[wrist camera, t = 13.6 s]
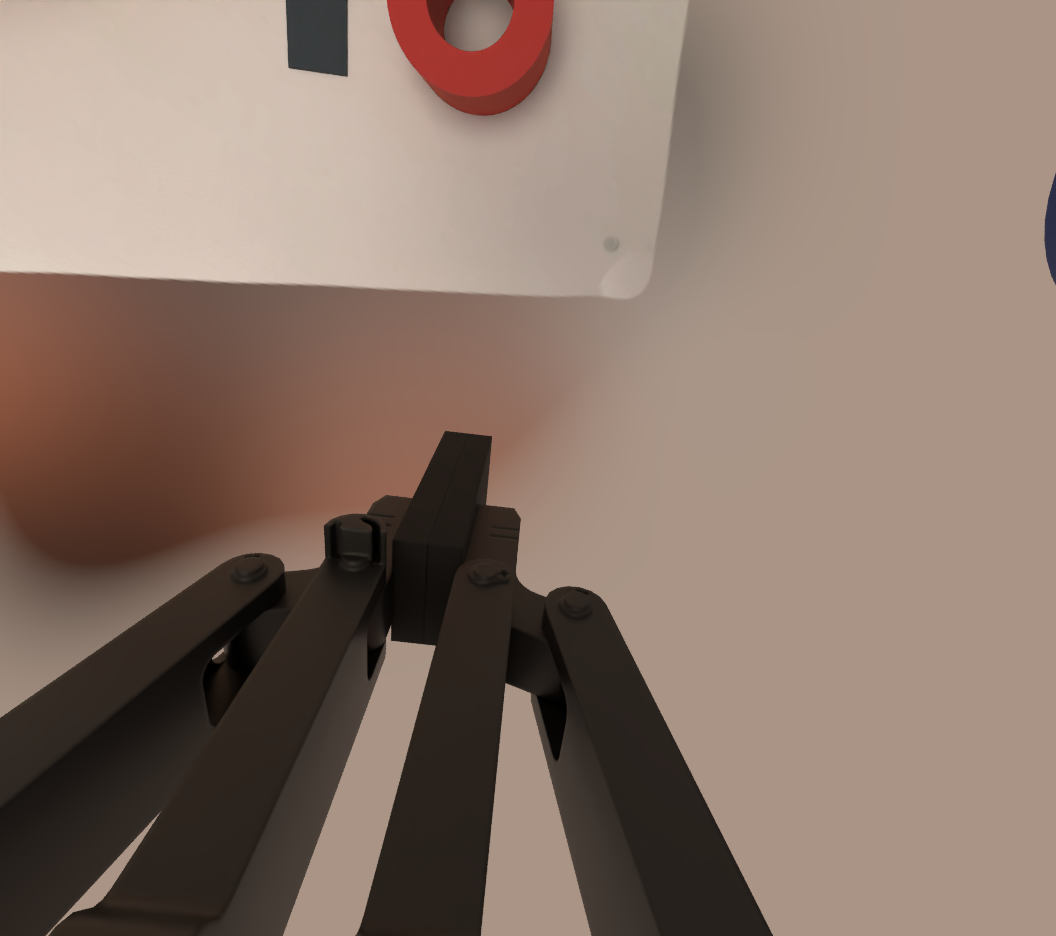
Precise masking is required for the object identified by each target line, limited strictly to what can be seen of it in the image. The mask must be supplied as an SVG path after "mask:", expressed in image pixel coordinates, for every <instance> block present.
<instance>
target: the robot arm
mask: <svg viewBox="0 0 1056 936" xmlns="http://www.w3.org/2000/svg"><path fill="white" fill-rule="evenodd" d="M491 442H492V436H484V435H475V434H466V433H457V432H449V431H445V432H444V435H443V437H442V439H441V441H440V443H439V445H438V447H437V449H436V451H435V453H434V455H433V457H432V459H431V461H430V463H429V465H428V468H427V470H426V472H425V474H424V476H423V478H422V480H421V482H420V484H419V486H418V488H417V490H416V492H415V494H414V496H413V498H407V497H398V496H389V495H386V496H384V497H382V498H381V499H379V500H378V501H376V502H374V503H373V504H372V506H371V508H370V509H369V511H368V513H367V514H348V515H343V516H339V517H336V518H334V519H332V520H330V521H329V522H328V523H326V524H325V525H324V535H325V557H326V558H325V560H324V561H323V563H322V564H321V566H320V567H319V568H315V569H309V570H300V571H287V572H285V570H284V564H283V562H282V561H281V560H280V558H277V557H275V556H273V555H270V554H263V553H254V554H252V553H251V554H245V555H241V556H238V557H234V558H232V559H230V560H228V561H226V562H224V563H222V564H221V565H219V566H218V567H216V568H215V569H214V570H213V571H211V572H209V573H208V574H206V575H205V576H204V577H202V578H201V579H199V580H198V581H196V582H195V583H194V584H192V585H191V586H189V587H188V588H187V589H185V590H183V591H182V592H181V593H179V594H178V595H176V596H175V597H173V598H172V599H170V600H169V601H168V602H166V603H165V604H163V605H162V606H160V607H159V608H158V609H156V610H155V611H153V612H152V613H150V614H149V615H147V616H146V617H145V618H143V619H142V620H140V621H139V622H137V623H136V624H135V625H133V626H132V627H130V628H129V629H127V630H126V631H124V632H123V633H122V634H120V635H119V636H117V637H116V638H114V639H113V640H112V641H110V642H109V643H107V644H106V645H104V646H103V647H101V648H100V649H99V650H97V651H96V652H95V653H93V654H92V655H90V656H89V657H87V658H86V659H84V660H83V661H81V662H80V663H78V664H77V665H76V666H75V667H73V668H71V669H70V670H68V671H67V672H66V673H64V674H63V675H61V676H60V677H58V678H57V679H56V680H54V681H53V682H51V683H50V684H48V685H47V686H46V687H44V688H43V689H41V690H40V691H38V692H37V693H35V694H34V695H33V696H31V697H30V698H28V699H27V700H25V701H24V702H22V703H21V704H20V705H18V706H17V707H15V708H14V709H12V710H11V711H10V712H8V713H7V714H5V715H4V716H2V717H1V718H0V936H46V935H47V934H48V932H49V931H50V930H51V929H52V928H53V927H54V926H55V925H56V924H57V923H58V922H59V920H60V919H61V918H62V917H63V916H64V915H65V914H66V913H67V912H68V911H69V910H70V909H71V908H72V906H73V905H74V904H75V903H76V902H77V901H78V900H79V899H80V898H81V897H82V896H83V895H84V894H85V892H86V891H87V890H88V889H89V888H90V887H91V886H92V885H93V884H94V883H95V882H96V881H97V880H98V878H99V877H100V876H101V875H102V874H103V873H104V872H105V871H106V870H107V868H109V867H110V866H111V864H112V863H113V862H114V861H115V860H116V859H117V858H118V857H119V856H120V855H121V854H122V853H123V851H124V850H125V849H126V848H127V847H128V846H129V845H130V844H131V843H132V842H133V841H134V839H136V837H137V836H138V835H139V834H140V833H141V832H142V831H143V830H144V829H145V828H146V827H147V826H148V825H149V823H150V822H151V821H152V820H153V819H154V818H155V817H156V816H157V815H158V814H159V813H160V814H159V816H158V817H157V819H156V820H155V822H154V824H153V825H152V826H151V828H150V829H149V831H148V833H147V834H146V836H145V837H144V839H143V840H142V842H141V843H140V845H139V846H138V848H137V850H136V851H135V853H134V854H133V856H132V857H131V859H130V860H129V862H128V863H127V865H126V866H125V868H124V870H123V871H122V873H121V874H120V876H119V877H118V879H117V880H116V882H115V883H114V885H113V887H112V888H111V889H110V891H109V892H108V893H107V895H106V896H105V897H104V899H103V900H102V901H100V902H99V903H98V904H97V905H96V906H94V907H93V908H89V909H85V910H81V911H77V912H73V913H72V914H71V915H69V916H68V917H67V918H66V919H65V920H63V921H62V922H61V923H60V924H58V925H57V926H56V927H55V928H54V930H53V931H52V932H51V933H50V935H49V936H283V934H284V931H285V928H286V925H287V923H288V920H289V917H290V915H291V912H292V909H293V906H294V904H295V901H296V898H297V896H298V893H299V890H300V887H301V884H302V882H303V879H304V877H305V874H306V871H307V868H308V866H309V863H310V860H311V857H312V855H313V852H314V849H315V847H316V844H317V841H318V838H319V836H320V833H321V830H322V827H323V824H324V822H325V819H326V817H327V814H328V811H329V809H330V806H331V803H332V800H333V798H334V795H335V792H336V790H337V787H338V784H339V781H340V779H341V776H342V773H343V770H344V768H345V765H346V762H347V759H348V757H349V754H350V751H351V749H352V746H353V743H354V741H355V738H356V735H357V732H358V730H359V727H360V724H361V721H362V719H363V716H364V713H365V711H366V708H367V705H368V703H369V700H370V697H371V694H372V692H373V689H374V686H375V684H376V680H377V678H378V675H379V673H380V670H381V667H382V664H383V662H384V659H385V654H386V637H387V634H388V631H389V629H390V626H391V641H400V642H408V643H417V644H426V645H435V646H436V648H435V651H434V655H433V659H432V662H431V667H430V670H429V674H428V678H427V681H426V685H425V689H424V692H423V696H422V700H421V704H420V707H419V711H418V715H417V719H416V722H415V726H414V730H413V733H412V737H411V741H410V745H409V748H408V752H407V756H406V760H405V763H404V767H403V771H402V775H401V778H400V782H399V786H398V789H397V794H396V797H395V801H394V804H393V808H392V812H391V816H390V820H389V823H388V827H387V830H386V834H385V838H384V842H383V845H382V849H381V853H380V857H379V860H378V864H377V868H376V871H375V875H374V879H373V883H372V886H371V890H370V894H369V898H368V901H367V905H366V909H365V913H364V916H363V919H362V923H361V926H360V928H359V931H358V933H357V934H356V935H355V936H481V926H482V916H483V906H484V896H485V886H486V875H487V865H488V854H489V844H490V835H491V824H492V813H493V803H494V793H495V783H496V772H497V762H498V753H499V743H500V732H501V722H502V711H503V702H504V692H505V683H507V684H509V685H512V686H515V687H517V688H520V689H522V690H525V691H527V692H530V693H531V702H532V706H533V710H534V714H535V718H536V722H537V726H538V729H539V734H540V737H541V741H542V745H543V749H544V753H545V757H546V760H547V765H548V769H549V772H550V776H551V780H552V784H553V788H554V791H555V795H556V799H557V804H558V807H559V811H560V815H561V819H562V823H563V827H564V831H565V834H566V838H567V842H568V846H569V850H570V854H571V858H572V861H573V865H574V870H575V873H576V877H577V881H578V885H579V889H580V893H581V897H582V900H583V904H584V908H585V912H586V916H587V920H588V924H589V928H590V932H591V935H592V936H773V935H772V933H771V931H770V929H769V927H768V925H767V923H766V921H765V919H764V917H763V915H762V913H761V911H760V909H759V907H758V905H757V903H756V901H755V899H754V897H753V895H752V893H751V891H750V889H749V887H748V885H747V883H746V881H745V879H744V877H743V875H742V873H741V871H740V869H739V867H738V865H737V863H736V861H735V859H734V857H733V855H732V854H731V851H730V849H729V847H728V845H727V844H726V841H725V840H724V837H723V835H722V833H721V832H720V830H719V828H718V826H717V824H716V822H715V820H714V818H713V816H712V814H711V812H710V810H709V808H708V806H707V804H706V802H705V800H704V798H703V796H702V794H701V792H700V790H699V788H698V786H697V784H696V782H695V780H694V778H693V776H692V774H691V772H690V770H689V768H688V766H687V764H686V762H685V760H684V758H683V756H682V754H681V752H680V750H679V748H678V746H677V744H676V742H675V740H674V738H673V736H672V734H671V732H670V730H669V728H668V726H667V724H666V722H665V720H664V718H663V716H662V714H661V713H660V710H659V709H658V707H657V705H656V703H655V701H654V699H653V697H652V695H651V693H650V691H649V689H648V687H647V685H646V683H645V681H644V679H643V677H642V675H641V673H640V671H639V669H638V667H637V665H636V663H635V661H634V659H633V657H632V655H631V653H630V651H629V649H628V647H627V645H626V643H625V641H624V639H623V637H622V635H621V633H620V631H619V629H618V627H617V625H616V623H615V621H614V619H613V617H612V615H611V613H610V611H609V609H608V607H607V605H606V604H605V602H604V601H603V600H602V599H601V598H600V597H599V596H598V595H596V594H595V593H593V592H592V591H589V590H586V589H583V588H580V587H570V586H567V587H561V588H557V589H555V590H553V591H551V592H549V594H548V596H547V597H544V596H542V595H539V594H536V593H534V592H532V591H530V590H528V589H527V588H526V587H524V586H523V585H522V584H521V583H520V582H519V580H518V578H517V576H516V563H517V552H518V542H519V531H520V521H521V518H520V517H519V515H518V514H517V512H516V511H515V509H514V508H506V507H497V506H489V505H486V498H487V487H488V476H489V475H488V474H489V464H490V453H491ZM223 647H224V652H223V653H222V654H221V655H219V656H218V657H217V658H215V659H213V660H212V658H213V656H214V655H215V654H216V653H217V652H219V651H220V650H221V649H222V648H223Z"/></svg>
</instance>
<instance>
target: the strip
mask: <svg viewBox="0 0 1056 936" xmlns="http://www.w3.org/2000/svg"><path fill="white" fill-rule="evenodd" d="M286 14H287V40H288V66H289V68H293V69H300V70H307V71H314V72H320V73H327V74H334V75H340V76H347V0H286Z"/></svg>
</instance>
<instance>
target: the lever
mask: <svg viewBox="0 0 1056 936" xmlns="http://www.w3.org/2000/svg"><path fill="white" fill-rule="evenodd" d="M453 1H454V0H387V5H388V11H389V16H390V21H391V24H392V27H393V31H394V33H395V36H396V38H397V41H398V43H399V45H400V47H401V49H402V50H403V52H404V54H405V55H406V57H407V59H408V60H409V61H410V63H411V64H412V65H413V67H414V68H415V69H416V70H417V71H418V73H419V74H420V75H421V76H422V77H423V79H424V80H425V81H426V82H427V83H428V85H429V86H430V87H431V88H432V89H433V91H434V92H435V93H436V94H437V95H438V96H439V97H440V98H441V99H442V100H444V101H445V102H446V103H448V104H449V105H450V106H452V107H454V108H456V109H458V110H460V111H462V112H465V113H469V114H473V115H494V114H498V113H501V112H504V111H507V110H509V109H511V108H513V107H514V106H516V105H517V104H519V103H520V102H521V101H522V100H524V99H525V98H526V97H527V96H528V95H529V94H530V92H531V91H532V90H533V89H534V87H535V86H536V84H537V83H538V81H539V79H540V78H541V76H542V73H543V71H544V69H545V66H546V63H547V60H548V56H549V52H550V46H551V35H552V21H553V7H554V0H507V1H508V2H509V3H510V5H511V7H512V8H513V14H512V18H511V21H510V23H509V26H508V28H507V29H506V31H505V33H504V34H503V35H502V37H501V38H500V39H499V40H498V41H497V42H496V43H495V44H493V45H492V46H490V47H488V48H486V49H484V50H481V51H474V52H469V51H463V50H460V49H457V48H455V47H453V46H451V45H450V44H448V43H447V42H446V41H445V37H444V24H445V18H446V15H447V12H448V9H449V7H450V5H451V4H452V2H453Z"/></svg>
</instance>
